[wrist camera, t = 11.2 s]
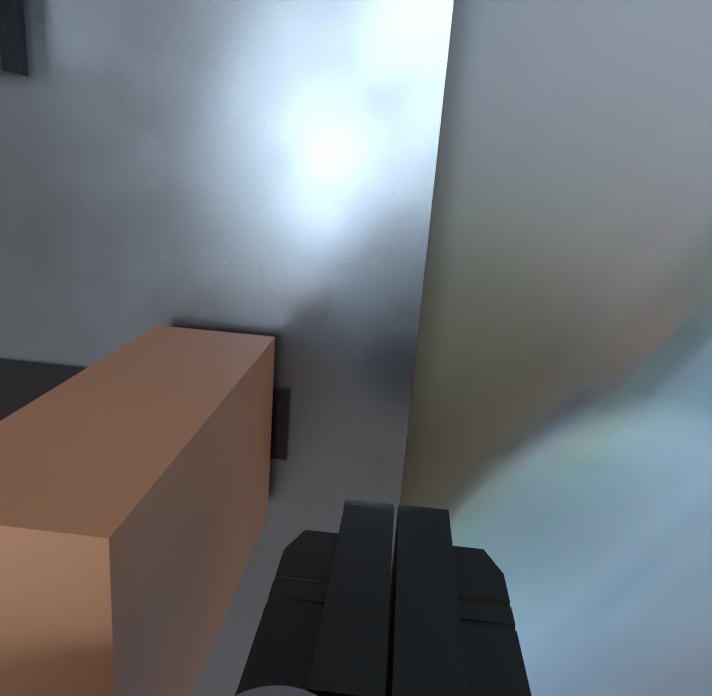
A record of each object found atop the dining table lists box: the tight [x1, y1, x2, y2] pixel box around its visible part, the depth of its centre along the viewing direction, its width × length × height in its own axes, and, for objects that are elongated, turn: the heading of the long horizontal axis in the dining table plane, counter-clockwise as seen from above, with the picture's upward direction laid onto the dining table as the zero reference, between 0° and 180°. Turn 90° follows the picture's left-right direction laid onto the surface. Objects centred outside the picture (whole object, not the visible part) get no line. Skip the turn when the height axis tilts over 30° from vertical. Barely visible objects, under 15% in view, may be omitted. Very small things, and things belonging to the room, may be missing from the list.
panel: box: [0, 0, 454, 696], centre depth 14 cm, size 16×25×4 cm, turn 176°
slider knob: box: [0, 325, 275, 696], centre depth 10 cm, size 2×4×7 cm, turn 176°
